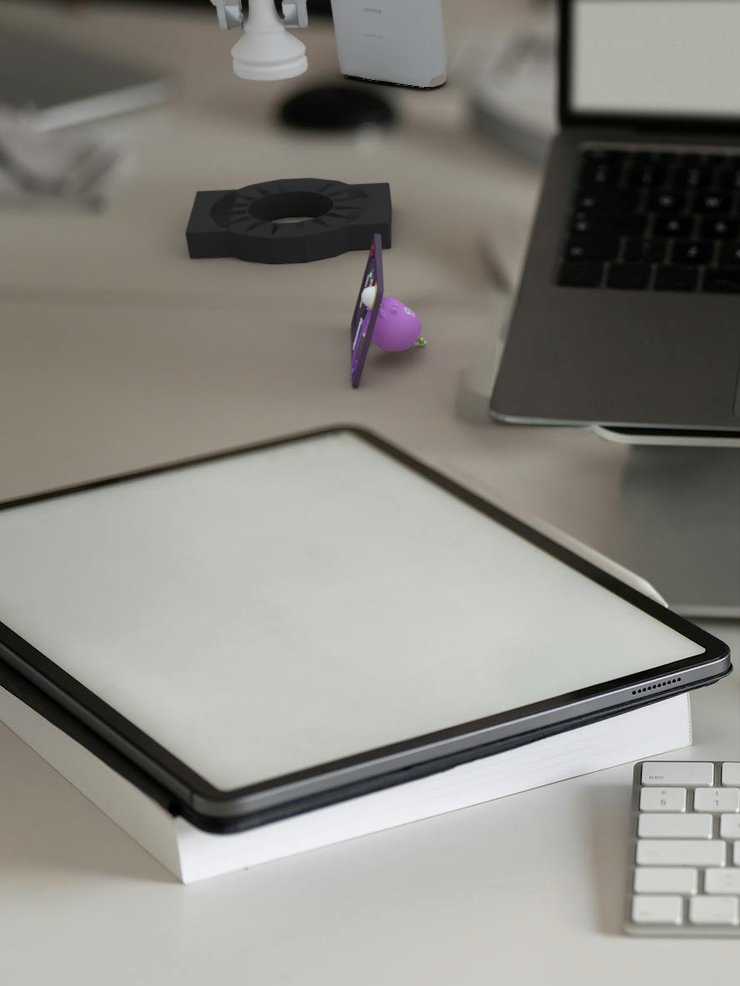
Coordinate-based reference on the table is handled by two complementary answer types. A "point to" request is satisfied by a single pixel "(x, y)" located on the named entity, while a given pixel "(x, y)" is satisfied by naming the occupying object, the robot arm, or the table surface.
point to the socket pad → (250, 237)
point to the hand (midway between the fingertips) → (265, 27)
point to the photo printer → (390, 39)
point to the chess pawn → (267, 47)
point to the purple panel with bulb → (379, 316)
